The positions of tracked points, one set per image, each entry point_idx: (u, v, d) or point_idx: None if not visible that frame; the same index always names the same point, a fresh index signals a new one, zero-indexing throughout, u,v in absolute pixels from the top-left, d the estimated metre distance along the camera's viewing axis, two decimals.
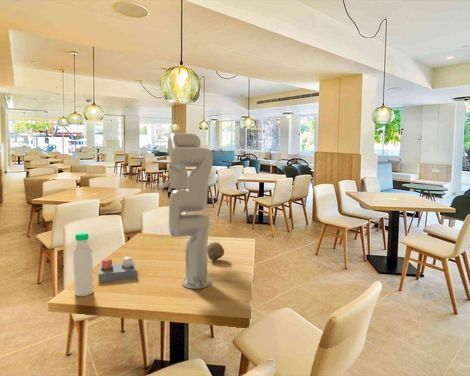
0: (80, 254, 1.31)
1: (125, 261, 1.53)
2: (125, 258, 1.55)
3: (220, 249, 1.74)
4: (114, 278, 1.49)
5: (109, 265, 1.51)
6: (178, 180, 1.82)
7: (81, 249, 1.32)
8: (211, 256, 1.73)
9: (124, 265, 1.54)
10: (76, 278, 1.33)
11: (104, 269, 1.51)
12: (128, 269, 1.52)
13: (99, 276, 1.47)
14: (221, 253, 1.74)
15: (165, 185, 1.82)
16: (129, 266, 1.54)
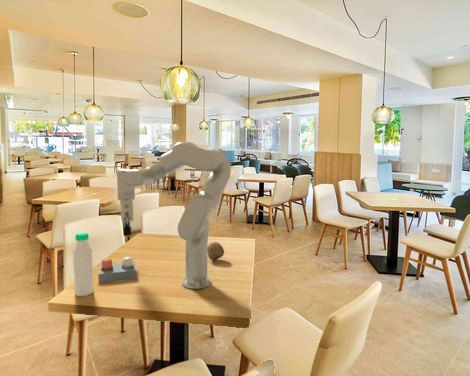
0: (80, 254, 1.31)
1: (125, 261, 1.53)
2: (125, 258, 1.55)
3: (220, 249, 1.74)
4: (114, 278, 1.49)
5: (109, 265, 1.51)
6: None
7: (81, 249, 1.32)
8: (211, 256, 1.73)
9: (124, 265, 1.54)
10: (76, 278, 1.33)
11: (104, 269, 1.51)
12: (128, 269, 1.52)
13: (99, 276, 1.47)
14: (221, 253, 1.74)
15: (128, 220, 1.47)
16: (129, 266, 1.54)
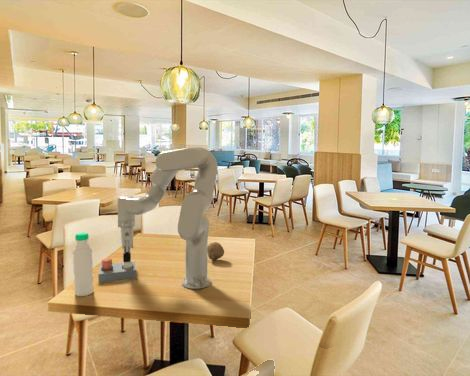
0: (80, 254, 1.31)
1: (125, 264, 1.54)
2: None
3: (220, 249, 1.74)
4: (114, 278, 1.49)
5: (109, 265, 1.51)
6: None
7: (81, 249, 1.32)
8: (211, 256, 1.73)
9: (124, 268, 1.54)
10: (76, 278, 1.33)
11: (104, 269, 1.51)
12: (128, 269, 1.52)
13: (99, 276, 1.47)
14: (221, 253, 1.74)
15: None
16: None
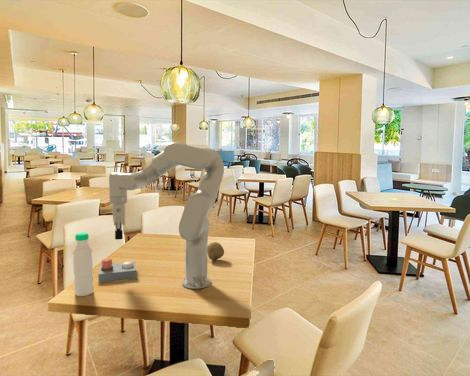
0: (80, 254, 1.31)
1: (125, 266, 1.54)
2: (125, 263, 1.55)
3: (220, 249, 1.74)
4: (114, 278, 1.49)
5: (109, 265, 1.51)
6: None
7: (81, 249, 1.32)
8: (211, 256, 1.73)
9: None
10: (76, 278, 1.33)
11: (104, 269, 1.51)
12: (128, 269, 1.52)
13: (99, 276, 1.47)
14: (221, 253, 1.74)
15: (120, 226, 1.49)
16: None
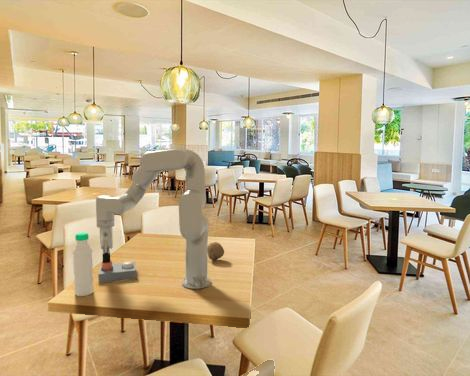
0: (80, 254, 1.31)
1: (125, 266, 1.54)
2: (125, 263, 1.55)
3: (220, 249, 1.74)
4: (114, 278, 1.49)
5: (109, 267, 1.52)
6: (112, 237, 1.52)
7: (81, 249, 1.32)
8: (211, 256, 1.73)
9: None
10: (76, 278, 1.33)
11: None
12: (128, 269, 1.52)
13: (99, 276, 1.47)
14: (221, 253, 1.74)
15: (107, 250, 1.48)
16: None
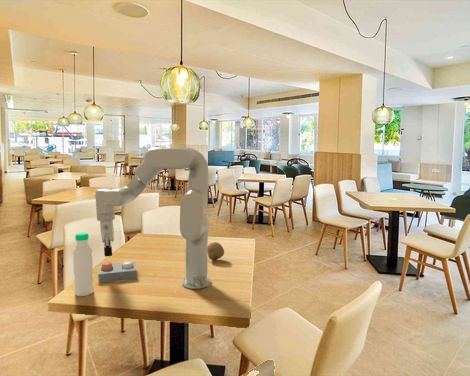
0: (80, 254, 1.31)
1: (125, 266, 1.54)
2: (125, 263, 1.55)
3: (220, 249, 1.74)
4: (114, 278, 1.49)
5: (110, 269, 1.52)
6: (113, 230, 1.51)
7: (81, 249, 1.32)
8: (211, 256, 1.73)
9: None
10: (76, 278, 1.33)
11: None
12: (128, 269, 1.52)
13: (99, 276, 1.47)
14: (221, 253, 1.74)
15: (108, 243, 1.48)
16: None
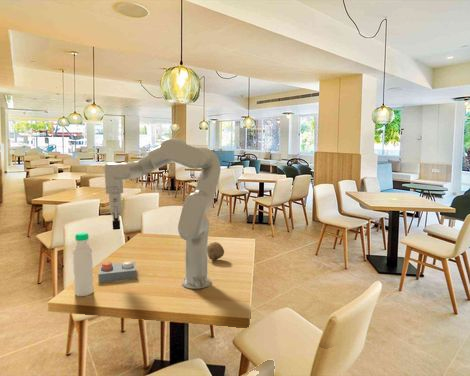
0: (80, 254, 1.31)
1: (125, 266, 1.54)
2: (125, 263, 1.55)
3: (220, 249, 1.74)
4: (114, 278, 1.49)
5: (110, 269, 1.52)
6: None
7: (81, 249, 1.32)
8: (211, 256, 1.73)
9: None
10: (76, 278, 1.33)
11: None
12: (128, 269, 1.52)
13: (99, 276, 1.47)
14: (221, 253, 1.74)
15: (117, 216, 1.50)
16: None
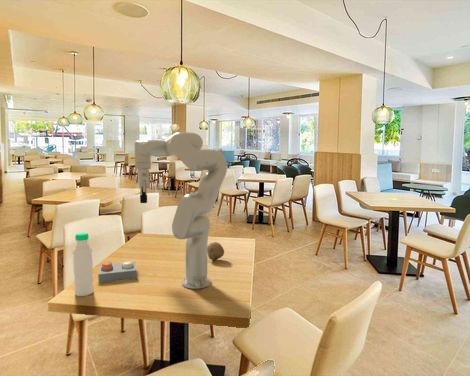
0: (80, 254, 1.31)
1: (125, 266, 1.54)
2: (125, 263, 1.55)
3: (220, 249, 1.74)
4: (114, 278, 1.49)
5: (110, 269, 1.52)
6: None
7: (81, 249, 1.32)
8: (211, 256, 1.73)
9: None
10: (76, 278, 1.33)
11: None
12: (128, 269, 1.52)
13: (99, 276, 1.47)
14: (221, 253, 1.74)
15: None
16: None
